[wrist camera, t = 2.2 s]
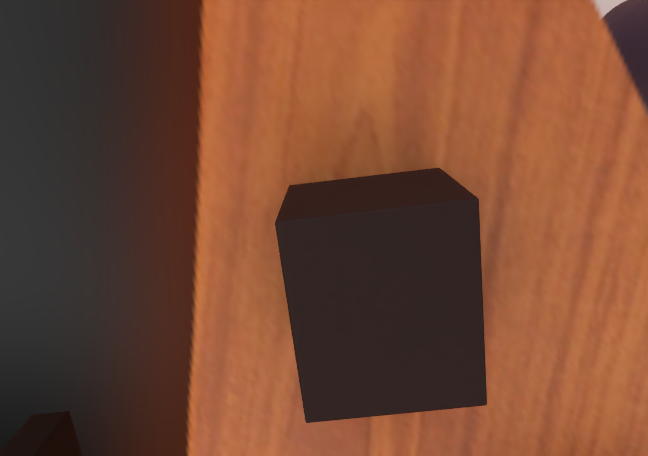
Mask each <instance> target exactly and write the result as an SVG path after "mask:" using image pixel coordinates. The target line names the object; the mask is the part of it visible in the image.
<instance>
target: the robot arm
mask: <svg viewBox="0 0 648 456" xmlns="http://www.w3.org/2000/svg"><path fill="white" fill-rule="evenodd" d="M0 456H82V453H81V450H80V447H79V443H78V440H77V436H76V433H75V430H74V426H73V423H72V420H71V416H70V413H69V411H66V412H57V413H47V414H37V415H31V416H30V418H29V419H28V420H27V421H26V422H25V423H24V424H23V426H22V427H21V428H20V429H19V430H18V431H17V432H16V434H15V435H14V436H13V437H12V439H10V440H9V441H8V443H7V444H6V445H5V446H4V447H3V448H2V450H1V451H0Z"/></svg>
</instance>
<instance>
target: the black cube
mask: <svg viewBox="0 0 648 456" xmlns="http://www.w3.org/2000/svg"><path fill="white" fill-rule="evenodd" d="M275 226H276V232H277V239H278V245H279V252H280V258H281V265H282V271H283V278H284V284H285V291H286V297H287V304H288V310H289V317H290V323H291V330H292V336H293V343H294V349H295V356H296V362H297V369H298V375H299V382H300V388H301V395H302V401H303V408H304V414H305V421H306V423H310V422H320V421H330V420H340V419H350V418H361V417H371V416H381V415H391V414H401V413H412V412H422V411H432V410H442V409H452V408H462V407H473V406H483V405H487V394H486V369H485V345H484V320H483V295H482V270H481V246H480V221H479V199H478V198H477V197H476V196H474V195H473V194H472V193H471V192H469V191H468V190H467V189H465V188H464V187H463V186H462V185H460V184H459V183H458V182H457V181H455V180H454V179H453V178H452V177H450V176H449V175H448V174H447V173H445V172H444V171H443V170H441V169H440V168H433V169H425V170H417V171H408V172H400V173H391V174H383V175H374V176H366V177H358V178H349V179H341V180H332V181H324V182H315V183H307V184H299V185H290V186H289V188H288V191H287V193H286V196H285V198H284V201H283V204H282V206H281V209H280V211H279V214H278V217H277V219H276V222H275Z"/></svg>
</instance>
